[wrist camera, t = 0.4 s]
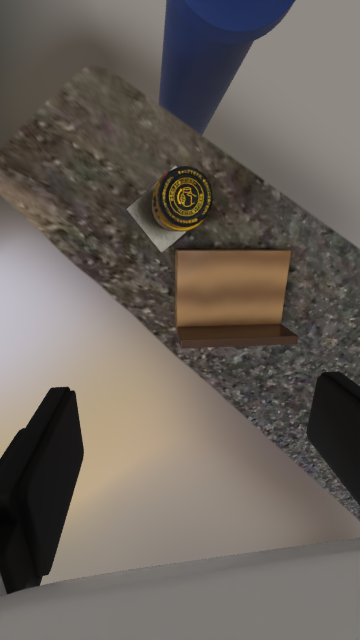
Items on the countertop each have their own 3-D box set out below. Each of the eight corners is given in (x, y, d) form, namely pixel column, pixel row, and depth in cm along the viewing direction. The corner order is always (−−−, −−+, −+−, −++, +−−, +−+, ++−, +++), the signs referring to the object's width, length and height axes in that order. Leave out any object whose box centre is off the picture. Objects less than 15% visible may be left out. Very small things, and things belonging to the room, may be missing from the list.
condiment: (208, 213, 36) (235, 204, 25) (161, 252, 37) (167, 261, 26) (175, 165, 34) (188, 132, 22) (126, 209, 35) (116, 198, 23)
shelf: (175, 249, 37) (182, 253, 29) (281, 249, 39) (312, 253, 31) (175, 327, 41) (181, 348, 33) (271, 324, 43) (297, 344, 35)
